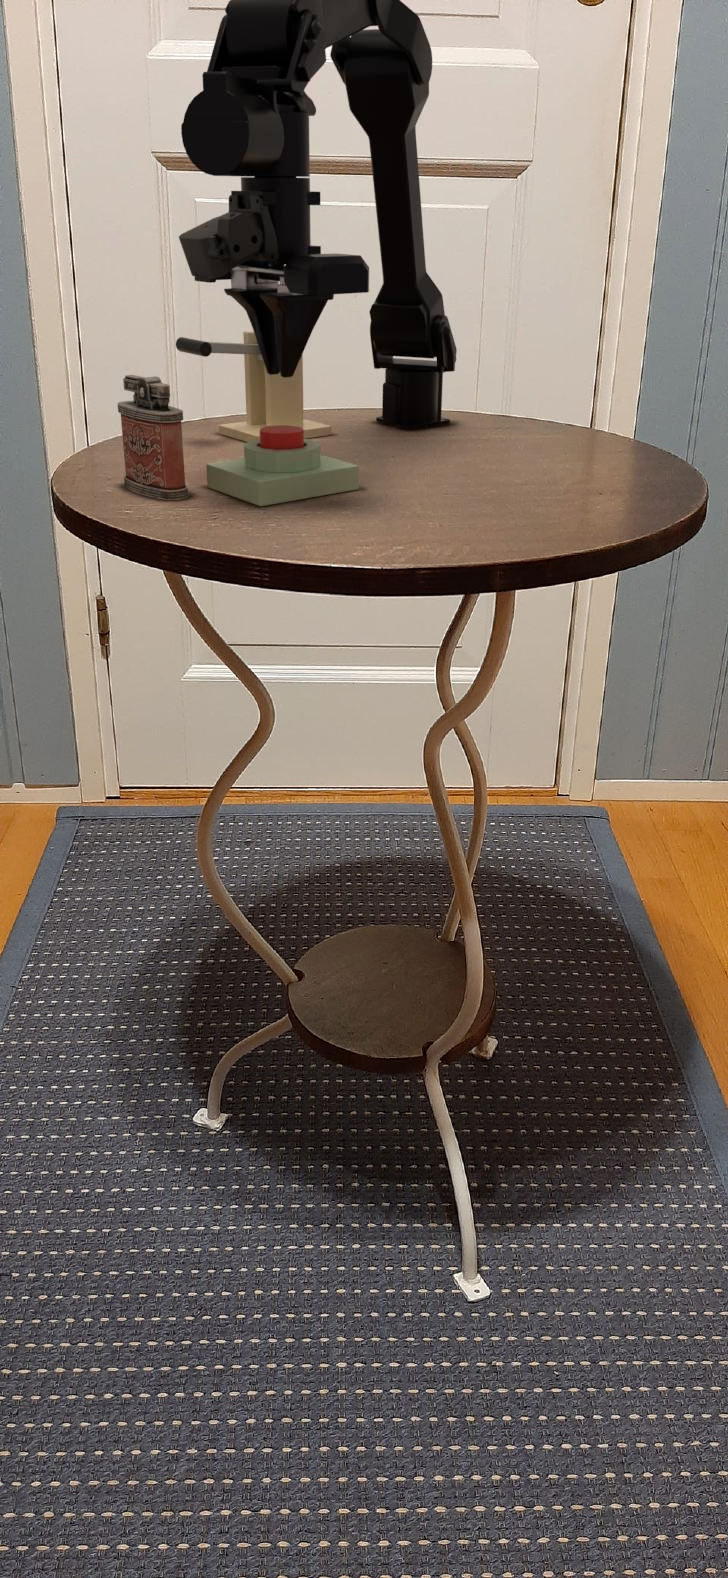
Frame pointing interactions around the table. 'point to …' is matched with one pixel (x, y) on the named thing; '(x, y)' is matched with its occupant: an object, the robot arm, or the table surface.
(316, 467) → the button box
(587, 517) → the table surface
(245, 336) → the bracket
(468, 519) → the table surface
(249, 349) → the lever
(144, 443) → the lighter
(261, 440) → the button
